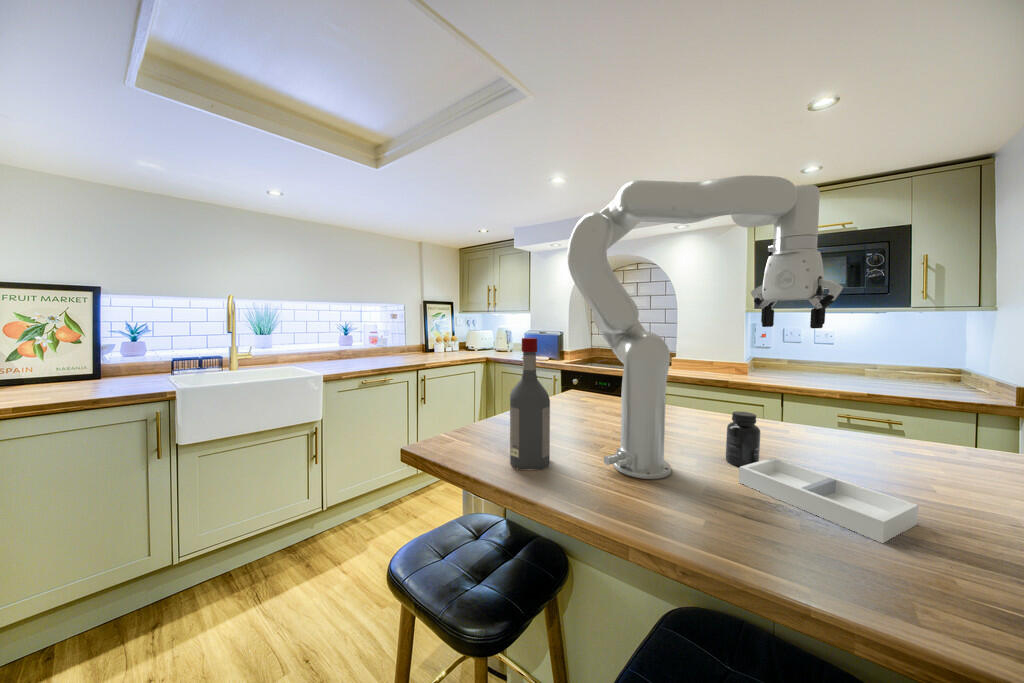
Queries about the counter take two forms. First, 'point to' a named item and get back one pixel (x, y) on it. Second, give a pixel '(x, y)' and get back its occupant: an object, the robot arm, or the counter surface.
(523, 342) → the liquor
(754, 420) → the supplement bottle
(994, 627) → the counter surface
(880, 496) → the caddy
